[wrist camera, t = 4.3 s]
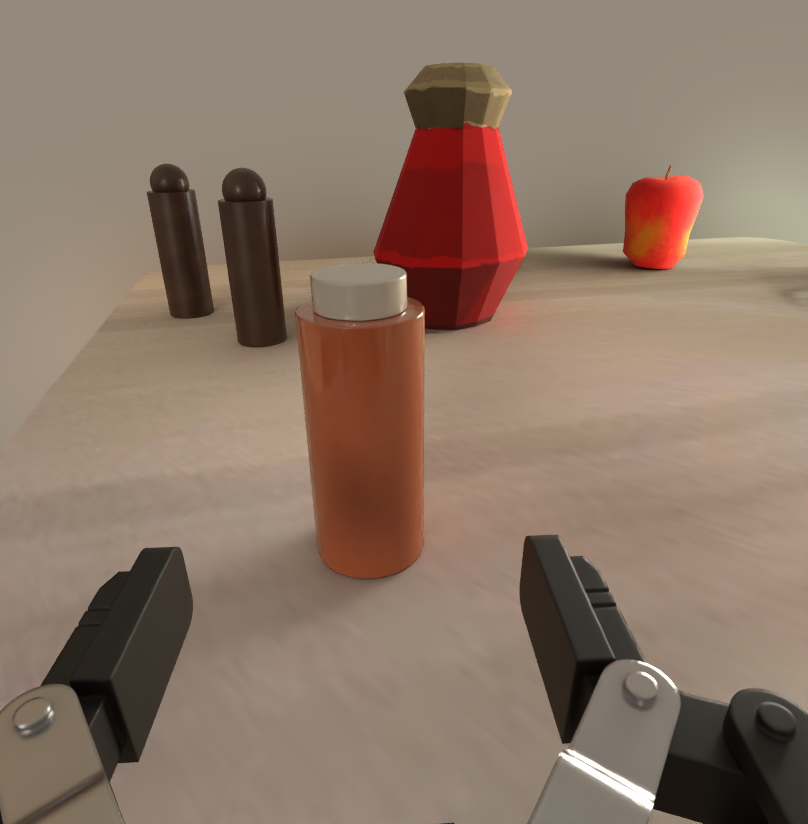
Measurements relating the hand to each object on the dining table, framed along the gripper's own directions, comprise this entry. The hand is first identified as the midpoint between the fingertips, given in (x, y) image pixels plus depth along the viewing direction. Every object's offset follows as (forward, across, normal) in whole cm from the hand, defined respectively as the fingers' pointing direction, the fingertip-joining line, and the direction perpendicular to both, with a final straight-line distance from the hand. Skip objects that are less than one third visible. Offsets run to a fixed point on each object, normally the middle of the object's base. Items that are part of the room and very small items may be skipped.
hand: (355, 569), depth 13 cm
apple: (+62, -35, +6) cm, 71 cm away
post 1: (+44, +17, +6) cm, 48 cm away
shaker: (+9, 0, +6) cm, 11 cm away
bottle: (+42, -7, +6) cm, 43 cm away
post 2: (+36, +9, +6) cm, 37 cm away
